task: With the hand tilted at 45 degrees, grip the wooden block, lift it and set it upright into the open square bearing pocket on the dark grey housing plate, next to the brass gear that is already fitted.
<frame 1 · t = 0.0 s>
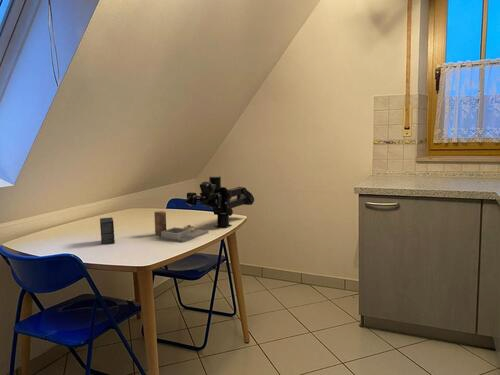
hand: (193, 202, 192), 17 cm above the table, tool horizontal, fingers open, 9 cm apart
wooden block: (160, 234, 201), on the table
housing: (184, 235, 197), on the table
box: (107, 242, 188), on the table
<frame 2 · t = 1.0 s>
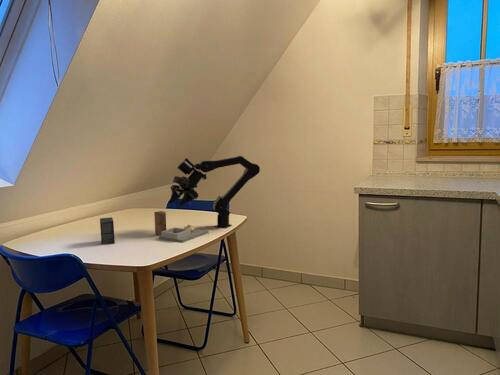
hand: (173, 204, 203), 14 cm above the table, tool tilted 45°, fingers open, 9 cm apart
nothing on the table moved.
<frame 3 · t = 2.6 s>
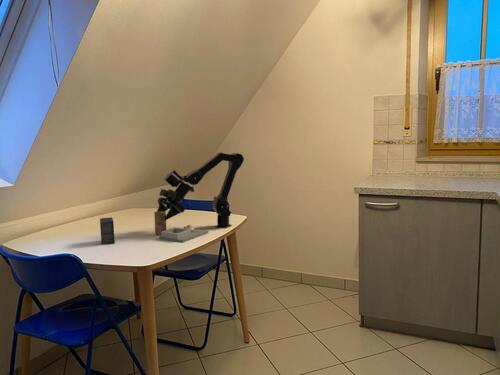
hand: (160, 218, 200), 8 cm above the table, tool tilted 45°, fingers open, 9 cm apart
nothing on the table moved.
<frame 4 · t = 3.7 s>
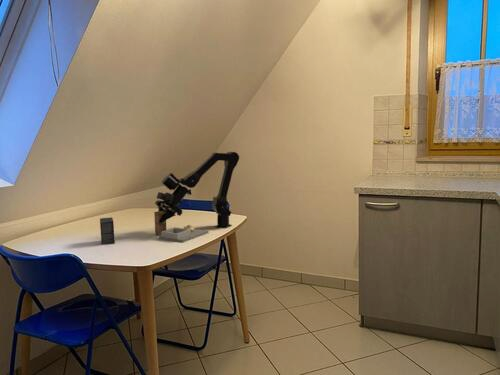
hand: (157, 221, 199), 7 cm above the table, tool tilted 45°, fingers closed on wooden block, 4 cm apart
wooden block: (160, 234, 201), on the table, touching gripper
everything else where it was.
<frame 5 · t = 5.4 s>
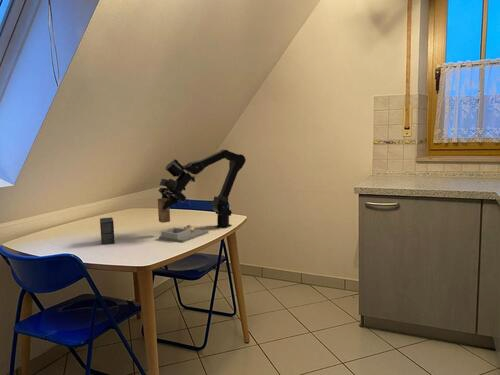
hand: (161, 208, 196), 13 cm above the table, tool tilted 45°, fingers closed on wooden block, 4 cm apart
wooden block: (164, 221, 198), point 7 cm above the table, touching gripper
everything else where it was.
when the fingers open (9 cm above the table, at t = 7.3 s): wooden block drops 1 cm, resting on housing.
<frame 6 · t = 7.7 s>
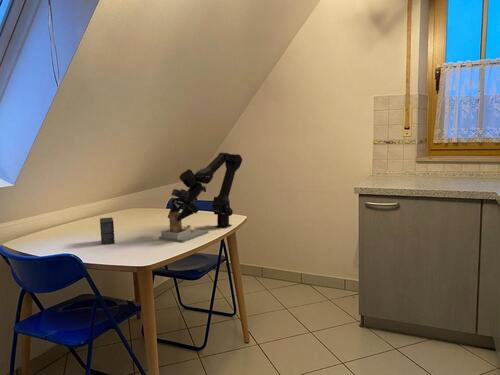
hand: (172, 219, 192), 9 cm above the table, tool tilted 45°, fingers open, 8 cm apart
wooden block: (176, 235, 193), point 1 cm above the table, touching housing
everything else where it was.
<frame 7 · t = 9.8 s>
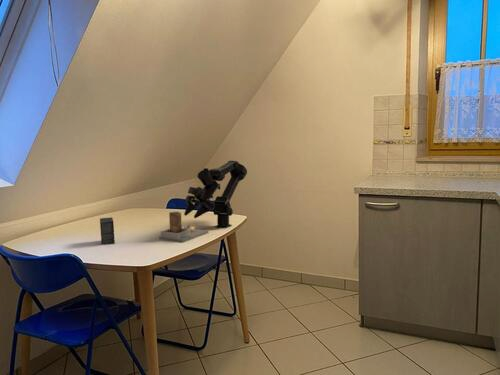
hand: (189, 216, 197), 9 cm above the table, tool tilted 45°, fingers open, 9 cm apart
nothing on the table moved.
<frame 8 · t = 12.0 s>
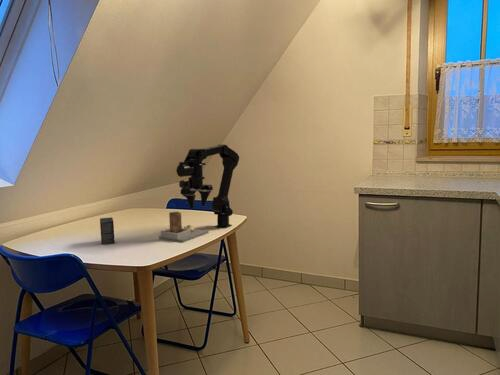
hand: (197, 207, 200), 13 cm above the table, tool pointing down, fingers open, 9 cm apart
nothing on the table moved.
at the end: wooden block 0.1 cm from the target spot on the housing, point 1.0 cm above the housing's base; wooden block tilted 0°; the gripper is holding nothing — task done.
